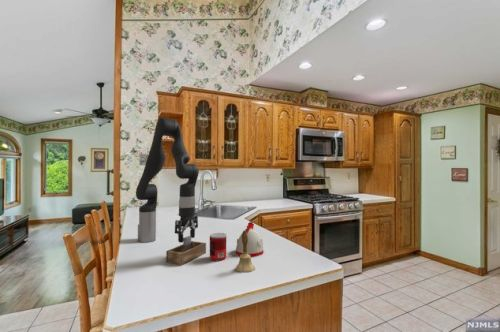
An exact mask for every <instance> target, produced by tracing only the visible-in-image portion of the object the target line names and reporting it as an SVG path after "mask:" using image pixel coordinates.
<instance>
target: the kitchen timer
mask: <svg viewBox="0 0 500 332" xmlns="http://www.w3.org/2000/svg"><path fill="white" fill-rule="evenodd" d="M254 226H255V223H254V222H253V221H251V222H248V223H247V225H246V228H245V230H246V232H247V235H248V242H247V254H249V255H250V256H251V258H254V257H255V258H256V257H259V256H261V255H263V254H264V240H263V238H261V236H260V234H259V233H258V232H257V231H256V230H255V229H254ZM242 234H243V232H242V233H241V234H240V235H239V237H238V238H237V239H236V246H235V253H236V255H237V256H239V257H240V255H242V254H243V243H242Z"/></svg>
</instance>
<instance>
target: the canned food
mask: <svg viewBox="0 0 500 332" xmlns="http://www.w3.org/2000/svg"><path fill="white" fill-rule="evenodd" d="M226 258H227V234H226V233H224V232H214V233H211V234H210V235H209V259H210V260H211V261H214V262H222V261H223V260H226Z"/></svg>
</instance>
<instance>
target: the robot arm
mask: <svg viewBox="0 0 500 332" xmlns="http://www.w3.org/2000/svg"><path fill="white" fill-rule="evenodd" d="M164 136H167V137H172V138H173V142H172V145H171V154H172V157H173V160H174V162H175V174H176V176H177V177H178V178H179V179H181V180H185V179H188V180H187V182H185V183H181V184H180V185H179V200H178V216H179V217H180V219H179V220H178V219H175V220H174V221H175V222H174V234H177V236H178V237H177V239H178V240H177V241H178V243H182V244H183V238H184V233H185V231H186V229H188V228H189V229H190V230H189V236H191V239H194V238H195V236H196V229H198V228H199V220H198V217H199V216H198V215H196V195H195V194H196V189H195V188H196V184H197V180H198V178H199V174H200V172H199V171H200V170H199V166H198V165H197V164H195V163H189V161H190V156H189V154H188V151H187V149H186V146H185V144H184V140H183V135H182V130H181V127H180V124H179V122H178V121H177V120H176V119H172V118H168V117H159V118H158V119H157V122H156V125H155V129H154V133H153V137H152V143H151V146H150V150H149V152H148V154H147V158H146V161H145V166H144V169H143V170H142V171H143V172H142V175H141V178H140V179H139V181H138V185H137V186H136V189H135V197H136V199H137V200H139V201H146V202H145V203H144V204H143V205H140V206H139V208H138V212H139V213H138V216H139V217H138V225H137V241H138V242H139V243H151V242H155V241H156V239H157V235H156V234H157V206H158V188H157V184H155V183H150V182H151V181H152V179H154V178H155V177H156V176H157V175H158V174H159V173H160V172H161V170H162V169H163V167H164V164H165V161H166V154H165V151H164V147H163V143H162V141H163V137H164Z"/></svg>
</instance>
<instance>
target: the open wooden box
mask: <svg viewBox="0 0 500 332" xmlns="http://www.w3.org/2000/svg"><path fill="white" fill-rule="evenodd" d="M165 252H166V254H165V255H166V257H165V259H166V260H165V261H166V263H168V264H172V265H178V266H185V264H186V265H187V264H188V263H190V262H192V261H194V260H196V259H198V258H200V257H201V256H203V255H206V254H207V243H206V242H202V241H195V240H191V249H189V250H187V251H185V252H183V244H180V245H178V246H175V247H173V248H170V249H168V250H166V251H165ZM182 252H183V253H182Z"/></svg>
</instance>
